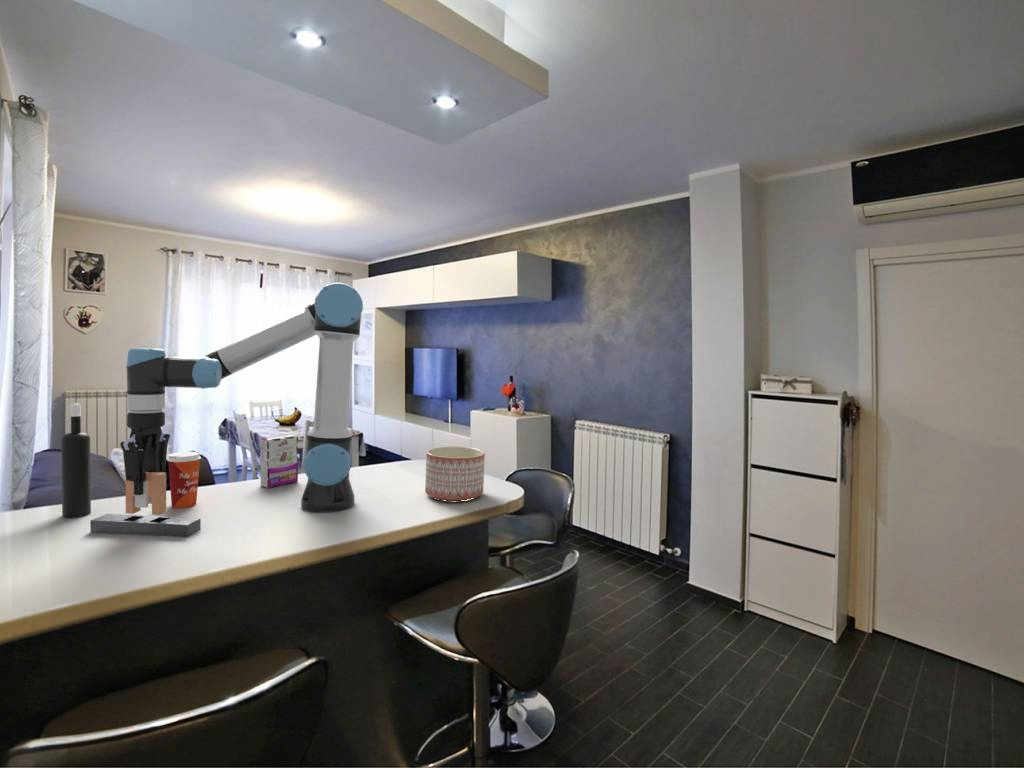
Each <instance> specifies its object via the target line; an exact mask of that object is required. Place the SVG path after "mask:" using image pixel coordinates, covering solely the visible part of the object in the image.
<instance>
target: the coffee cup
mask: <svg viewBox="0 0 1024 768" xmlns="http://www.w3.org/2000/svg"><path fill="white" fill-rule="evenodd" d="M201 459H202V457H201V455H200V453H199V452H198V451H197V452H196V451H180V452H172V453H170V454H169V455H168V458H166V462H168V473H169V487H170V488H169V489H170V502H171V503H170V504H171V507H172V508H174V509H184V508H190V507H194V506H196V504H197V500H198V499H197V498H198V488H199V487H198V486H199V475H200V473H199V471H200V461H201Z"/></svg>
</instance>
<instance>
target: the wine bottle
mask: <svg viewBox="0 0 1024 768" xmlns="http://www.w3.org/2000/svg"><path fill="white" fill-rule="evenodd" d="M69 407H70V408H69V412H70V413H69V414H70V415H69V417H70V432H68V433H65V434H64V435H63V436H62V437H61V440H60V441H61V444H60V445H61V448H60V449H61V508H62V511H61V513H62V514H61V516H63V517H62V518H64V517H65V518H64V519H74V518H73V517H76V518H80V517H81V516H82V517H85V516H88V515H90V514H91V513H92V505H91V504H92V501H91V500H92V498H91V496H92V495H91V494H92V493H91V490H92V489H91V487H92V486H91V485H92V484H91V482H92V481H91V474H92V473H91V437H90V435H89V434H88V433H87V432H83V431H82V430H81V429H82V424H81V423H82V420H81V419H82V418H81V417H82V403H81V402H79V403H78V402H75V403H74V402H73V403H69Z"/></svg>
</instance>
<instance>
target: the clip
mask: <svg viewBox="0 0 1024 768" xmlns="http://www.w3.org/2000/svg"><path fill="white" fill-rule="evenodd" d="M145 481H148V497H152V504H151V516H162V515H163V514H166V513H167V472H164V473H161V472H147V471H146V477H145ZM140 511H141V508H140V507H135V495H134V482H133V481H127V480H126V479H125V515H135V513H138V512H140Z"/></svg>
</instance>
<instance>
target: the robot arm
mask: <svg viewBox="0 0 1024 768" xmlns="http://www.w3.org/2000/svg"><path fill="white" fill-rule="evenodd" d="M363 310H364V304H363V300H362V297H361V295H360V293H359V292H358V291H357V290H356V289H355V288H353V287H352V286H351V285H349V284H346V283H342V282H332V283H329V284H326V285H324V286H323V287H322V288H320V289H319V291H318V292H317V294H316V296H315V299H314V301H313V302H311V303H310V304H306V305H305V307H304V310H303V311H300V312H298V313H296V314H294V315H292V316H289V317H287V318H285V319H283V320H281V321H279V322H277V323H273V324H272V325H270V326H268V327H266V328H263V329H261V330H259V331H257V332H255V333H252V334H250V335H247V336H246V337H244V338H241V339H239V340H237V341H235V342H233V343H231V344H228V345H226V346H224V347H221V348H220V349H217V350H214V351H212V352H210V353H208V354H206V355H204V356H201V357H200V356H199V357H173V356H167V355H166V351H165V349H163V348H151V347H149V348H147V347H146V348H143V347H142V348H141V347H132V348H130V349H129V350H128V352H127V358H126V359H127V361H126V366H125V367H126V393H127V394H126V395H127V401H126V406H127V407H126V410H128V412H127V414H126V426H127V428H129V429H130V433H129V439H128V440H126V441H121V442H119V443H120V447H121V450H122V454H123V463H124V473H125V481H126V480H127V481H133V482H134V495H135V507H140V509H141V508H144V509H145V508H146V509H147V508H148V507H149V505H152V497H148V481H145V477H146V472H161V473H166V468H167V467H166V464H167V457H168V456H167V454H168V444H169V443H168V442H169V440H170V437H171V435H170V434H169V433H163V430H162V427H164V426H165V425H166V412H165V411H163V410H165V409H166V388H185V389H186V388H187V389H188V388H193V389H195V388H196V389H214V388H218V387H219V386H220V385H221V381H222V380H223V379H225V378H228V377H229V376H231V375H233V374H236V373H237V372H239V371H242V370H244V369H246V368H249V367H250V366H252V365H255V364H256V363H258V362H261V361H263V360H266V359H268V358H270V357H271V356H273V355H277V354H278V353H280V352H282V351H285V350H286V349H289V348H290V347H293V346H295V345H297V344H299V343H302V342H304V341H306V340H308V339H310V338H313V337H315V336H317V337H318V338H319V345H318V347H319V348H318V360H317V375H316V388H315V400H314V401H315V402H314V413H313V414H314V418H313V419H314V420H313V426H312V428H311V429H309V431H307V432H306V444H305V456H304V458H303V464H302V467H303V471H304V473H305V476H306V477H307V482H306V485H305V488H304V491H303V494H302V496H301V501H300V502H301V503H300V507H301V509H302V510H305V511H307V512H312V513H332V512H333V513H334V512H339V511H344V510H347V509H349V508H352V507H354V505H355V501H356V500H355V493H354V490H353V487H352V484H351V481H350V470H351V468H352V459H351V455H352V441H353V434H352V432H351V431H350V430H349V429H348V419H349V417H348V416H349V405H350V404H349V403H350V390H351V389H350V388H351V378H352V363H353V352H354V350H353V348H354V342H355V341H356V340H357V339H358V338H360V334H361V322H362V321H361V320H362V312H363Z"/></svg>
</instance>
